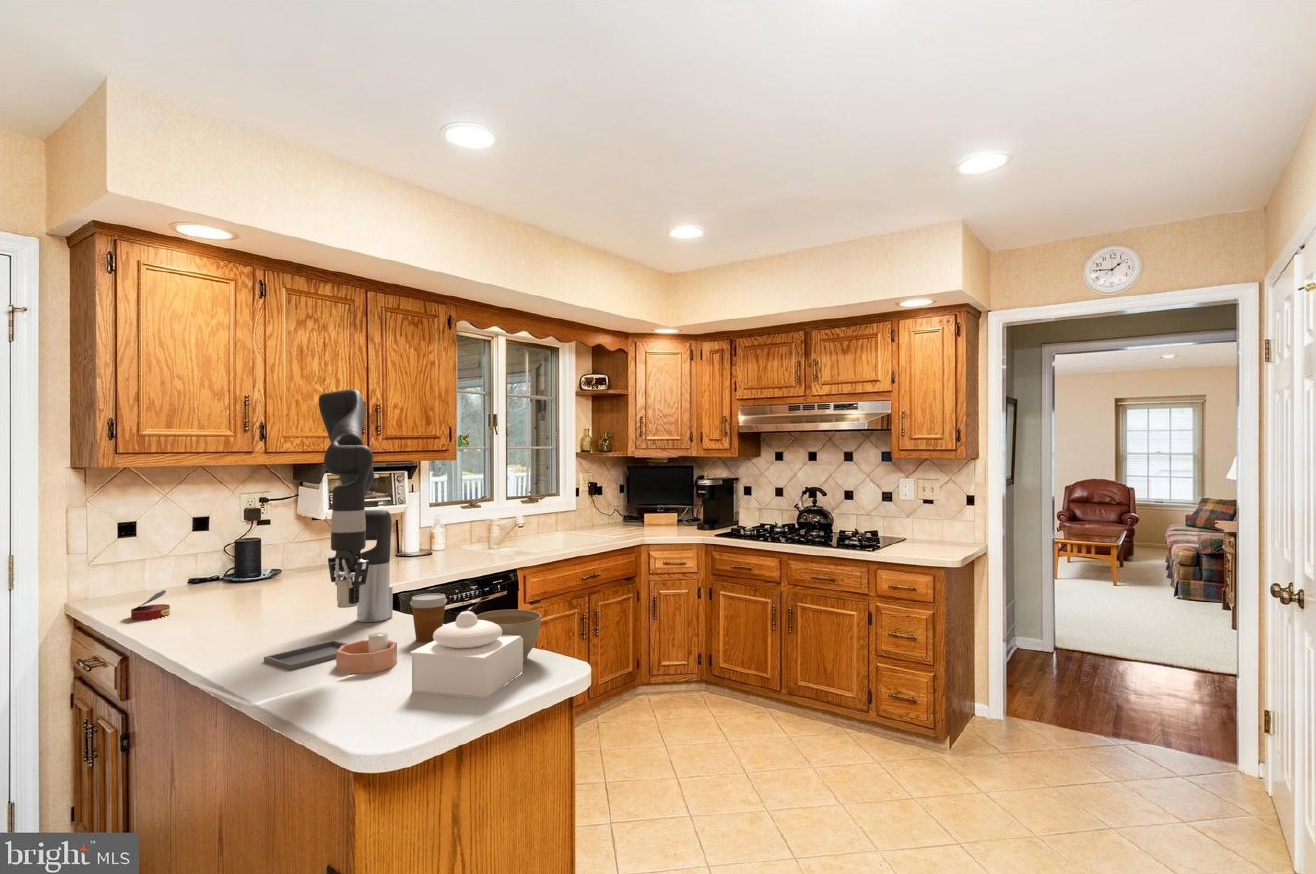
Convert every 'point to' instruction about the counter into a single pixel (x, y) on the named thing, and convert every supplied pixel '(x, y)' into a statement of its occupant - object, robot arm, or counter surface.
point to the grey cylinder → (344, 594)
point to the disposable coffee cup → (427, 615)
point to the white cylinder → (377, 642)
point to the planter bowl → (516, 625)
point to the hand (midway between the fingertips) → (347, 601)
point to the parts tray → (305, 655)
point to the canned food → (151, 610)
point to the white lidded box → (467, 659)
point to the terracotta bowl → (365, 658)
